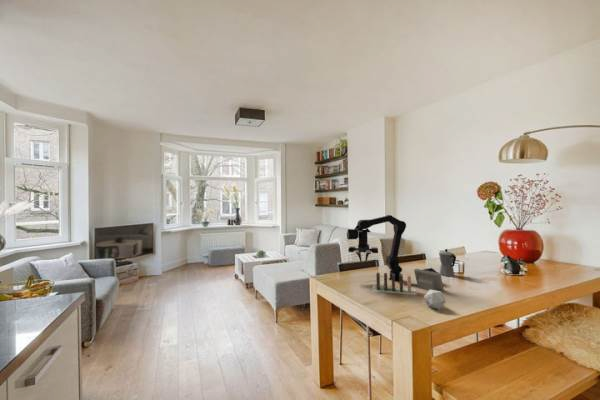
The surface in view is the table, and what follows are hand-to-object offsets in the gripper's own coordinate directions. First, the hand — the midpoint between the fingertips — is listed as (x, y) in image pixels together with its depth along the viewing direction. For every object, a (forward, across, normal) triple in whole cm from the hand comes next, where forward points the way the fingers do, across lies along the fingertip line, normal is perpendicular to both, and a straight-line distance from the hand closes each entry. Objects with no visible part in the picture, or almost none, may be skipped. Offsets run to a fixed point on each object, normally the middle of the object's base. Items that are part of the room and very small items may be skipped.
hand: (363, 262), depth 178 cm
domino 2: (+12, +14, -14) cm, 23 cm away
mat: (+12, +18, -14) cm, 26 cm away
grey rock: (+12, +38, -35) cm, 52 cm away
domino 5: (+12, +27, -14) cm, 33 cm away
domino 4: (+12, +23, -14) cm, 29 cm away
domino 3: (+12, +18, -14) cm, 26 cm away
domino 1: (+12, +10, -14) cm, 21 cm away
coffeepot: (+12, +54, +29) cm, 63 cm away
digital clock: (+12, +38, -4) cm, 40 cm away
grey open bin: (+12, +40, +10) cm, 43 cm away
